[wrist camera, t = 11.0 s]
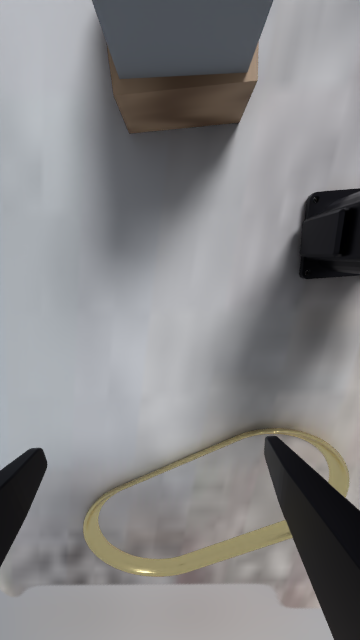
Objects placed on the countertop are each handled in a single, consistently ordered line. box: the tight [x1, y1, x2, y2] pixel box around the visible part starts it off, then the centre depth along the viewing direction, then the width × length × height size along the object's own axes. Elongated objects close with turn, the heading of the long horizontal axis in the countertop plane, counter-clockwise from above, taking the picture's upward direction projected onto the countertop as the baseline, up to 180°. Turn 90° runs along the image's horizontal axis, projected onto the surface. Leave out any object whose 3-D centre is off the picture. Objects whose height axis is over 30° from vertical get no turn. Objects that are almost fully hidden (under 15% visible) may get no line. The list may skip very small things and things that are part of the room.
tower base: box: [106, 41, 259, 134], centre depth 12 cm, size 8×8×4 cm
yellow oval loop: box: [83, 428, 349, 577], centre depth 26 cm, size 19×35×2 cm, turn 120°
